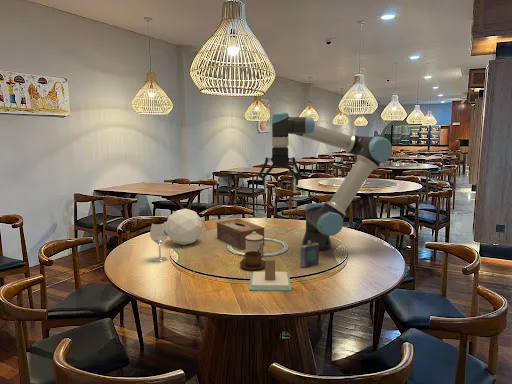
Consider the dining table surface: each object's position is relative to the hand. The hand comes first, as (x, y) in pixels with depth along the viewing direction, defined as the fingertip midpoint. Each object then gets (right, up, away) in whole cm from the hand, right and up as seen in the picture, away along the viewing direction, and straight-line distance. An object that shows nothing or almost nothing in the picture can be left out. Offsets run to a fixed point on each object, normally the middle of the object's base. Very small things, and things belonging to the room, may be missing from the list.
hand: (280, 192), depth 176 cm
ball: (-50, -28, +29) cm, 64 cm away
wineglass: (-57, -32, +3) cm, 65 cm away
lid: (-6, -36, -25) cm, 44 cm away
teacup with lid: (-12, -31, +10) cm, 34 cm away
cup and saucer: (-13, -34, -7) cm, 37 cm away
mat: (-6, -36, -26) cm, 45 cm away
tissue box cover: (-20, -28, +31) cm, 46 cm away
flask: (+13, -33, -6) cm, 36 cm away
